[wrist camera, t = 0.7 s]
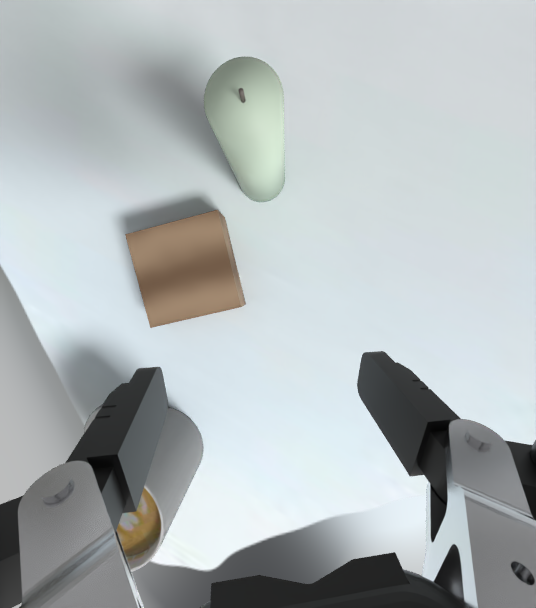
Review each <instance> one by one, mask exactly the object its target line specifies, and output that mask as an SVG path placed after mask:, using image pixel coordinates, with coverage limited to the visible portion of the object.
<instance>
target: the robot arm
mask: <svg viewBox="0 0 536 608" xmlns="http://www.w3.org/2000/svg"><path fill="white" fill-rule="evenodd" d="M357 387H358V393H359V396H360V398H361V400H362V401H363V403H364V404H365V406H366V407H367V409H368V411H369V412H370V414H371V415H372V417H373V419H374V420H375V422H376V423H377V425H378V426H379V428H380V430H381V431H382V433H383V434H384V436H385V437H386V439H387V441H388V442H389V444H390V445H391V447H392V449H393V450H394V452H395V453H396V455H397V456H398V458H399V460H400V461H401V463H402V464H403V466H404V467H405V469H406V471H407V472H408V474H409V475H410V476H418V475H425V477H426V478H427V479H428V484H427V489H426V501H427V502H426V554H425V560H424V565H423V571H422V576H421V575H419V574H416V573H413V572H410V571H407V570H403V569H402V567H401V565H400V562H399V560H398V558H397V556H396V554H395V553H389V554H382V555H377V556H371V557H365V558H359V559H353V560H351V561H350V562H348V563H346V564H345V565H343V566H341V567H340V568H338V569H336V570H335V571H333V572H331V573H330V574H328V575H326V576H325V577H323V578H321V579H320V580H318V581H316V582H315V583H313V584H302V583H297V582H292V581H287V580H282V579H277V578H272V577H266V576H261V575H257V576H252V577H246V578H240V579H234V580H228V581H222V582H216V583H212V584H211V585H212V586H211V601H210V602H208V603H206V604H205V605H203V606H201V607H200V608H536V440H535V442H534V444H533V445H527V444H521V443H516V442H510V441H504V440H503V439H502V438H501V437H500V436H499V435H498V434H497V433H495V432H494V431H493V430H491V429H490V428H488V427H486V426H484V425H482V424H480V423H477V422H474V421H471V420H466V419H460V418H459V417H458V416H457V415H456V414H455V413H454V412H453V411H452V410H451V409H450V408H449V407H448V406H447V405H446V404H445V403H444V402H443V401H442V400H441V399H440V398H439V397H438V396H437V395H436V394H435V393H434V392H433V391H432V390H431V389H428V387H427V386H426V385H425V384H424V383H423V382H422V381H420V379H419V378H418V377H417V376H416V375H415V374H414V373H413V372H412V371H411V370H410V369H408V368H406V367H404V366H403V365H401V364H399V363H395V362H394V361H393V360H392V359H391V358H390V357H389V356H388V355H387V354H386V353H385V352H383V351H379V352H365V353H363V355H362V358H361V364H360V370H359V376H358V383H357ZM167 409H168V399H167V394H166V389H165V384H164V379H163V374H162V370H161V368H160V367H152V368H139V369H137V370H136V372H135V374H134V375H133V377H132V379H131V381H130V382H129V383H124V384H121V385H120V386H119V387H117V388H116V389H115V390H114V391H113V392H112V393H110V394H109V396H108V397H107V399H106V400H105V402H104V403H103V405H102V408H101V409H100V410H99V411H98V413H97V414H96V416H95V419H94V420H93V421H92V422H91V424H90V425H89V427H88V429H87V430H86V432H85V433H84V435H83V437H82V438H81V439H80V441H79V443H78V444H77V446H76V447H75V449H74V450H73V452H72V454H71V455H70V457H69V459H68V460H67V461H66V463H65V464H62V465H59V466H57V467H55V468H53V469H52V470H50V471H48V472H47V473H45V474H44V475H43V476H41V477H40V478H39V479H38V480H36V481H35V482H34V483H33V484H32V485H31V486H30V488H29V489H28V490H27V491H26V493H25V494H24V495H23V496H21V497H19V498H16V499H13V500H11V501H8V502H6V503H3V504H1V505H0V608H12V607H14V606H16V605H18V604H20V603H22V605H21V607H19V608H144V606H143V603H142V601H141V598H140V595H139V592H138V589H137V587H136V584H135V581H134V578H133V575H132V572H131V569H130V567H129V564H128V561H127V558H126V555H125V552H124V549H123V547H122V544H121V541H120V538H119V535H118V532H117V527H118V525H119V522H120V519H121V516H122V513H129V512H136V511H137V508H138V505H139V502H140V499H141V495H142V492H143V489H144V486H145V483H146V479H147V476H148V473H149V470H150V467H151V463H152V460H153V457H154V454H155V451H156V448H157V444H158V441H159V438H160V435H161V432H162V428H163V425H164V422H165V419H166V415H167Z"/></svg>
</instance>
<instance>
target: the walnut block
mask: <svg viewBox="0 0 536 608" xmlns="http://www.w3.org/2000/svg"><path fill="white" fill-rule="evenodd" d="M125 235H126V239H127V243H128V246H129V250H130V254H131V257H132V261H133V265H134V268H135V272H136V276H137V280H138V283H139V287H140V291H141V294H142V298H143V302H144V306H145V309H146V313H147V317H148V320H149V324H150V328H152V327H156V326H160V325H165V324H169V323H173V322H178V321H182V320H186V319H191V318H195V317H199V316H204V315H208V314H212V313H217V312H221V311H226V310H230V309H234V308H239V307H242V306H244V305H245V304H246V303H245V299H244V295H243V291H242V287H241V283H240V279H239V274H238V270H237V266H236V262H235V258H234V254H233V250H232V245H231V241H230V237H229V233H228V229H227V225H226V221H225V217H224V216H223V215H222V214H221V213H220V212H219V211H218V210H215V211H211V212H207V213H204V214H200V215H196V216H192V217H189V218H185V219H181V220H177V221H174V222H170V223H166V224H163V225H159V226H155V227H151V228H148V229H144V230H140V231H137V232H133V233H129V234H125Z"/></svg>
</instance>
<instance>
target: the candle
mask: <svg viewBox="0 0 536 608" xmlns="http://www.w3.org/2000/svg"><path fill="white" fill-rule="evenodd" d="M204 109H205V113H206V117H207V119H208V121H209V123H210V125H211V127H212V129H213V132H214V134H215V136H216V138H217V140H218V142H219V144H220V146H221V148H222V150H223V152H224V154H225V156H226V158H227V160H228V162H229V164H230V166H231V169H232V171H233V173H234V175H235V177H236V179H237V181H238V183H239V185H240V187H241V189H242V191H243V193H244V194H245V195H246V196H247V197H248V198H250V199H251V200H253V201H257V202H266V201H270V200H272V199H274V198H275V197H276V196H277V195H278V194H279V193H280V192H281V190H282V188H283V186H284V182H285V155H284V96H283V88H282V84H281V82H280V79H279V77H278V75H277V74H276V72H275V71H274V70H273V69H272V68H271V67H270V66H269V65H268V64H267V63H265V62H263V61H261V60H260V59H257V58H253V57H238V58H234V59H231V60H229V61H227V62H225V63H224V64H222V65H221V66H220V67H219V68H218V69H217V70H216V71H215V72H214V73H213V74H212V76H211V77H210V79H209V81H208V83H207V86H206V89H205V94H204Z"/></svg>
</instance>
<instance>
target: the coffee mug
mask: <svg viewBox="0 0 536 608" xmlns="http://www.w3.org/2000/svg"><path fill="white" fill-rule="evenodd" d="M101 408H102V405H101V406H100V407H98V408H97V409H96V410H95V411H94V412H93V413H92V414H91V415H90V416H89V418H88V420H87V421H86V424H85V427H84V433H85V432H86V430H87V429H88V427H89V425H90V424H91V422H92V421H93V420H94V419H95V416H96V414H97V413H98V411H99V410H100V409H101ZM202 456H203V441H202V437H201V434H200V432H199V430H198V428H197V426H196V425H195V424H194V423H193V421H192V420H191V419H190V418H189V417H188V416H186V415H185V414H183V413H182V412H180V411H178V410H175V409H172V408H168V409H167V415H166V419H165V422H164V425H163V428H162V432H161V435H160V438H159V441H158V444H157V448H156V451H155V454H154V457H153V460H152V463H151V467H150V470H149V473H148V476H147V479H146V483H145V486H144V489H143V492H142V495H141V499H140V502H139V505H138V508H137V511H136V512H129V513H122V516H121V519H120V522H119V525H118V527H117V532H118V535H119V538H120V541H121V544H122V547H123V549H124V552H125V555H126V558H127V561H128V564H129V567H130V569H131V572H132V571H135V570H137V569H139V568H141V567H142V566H144V565H145V564H147V563H148V562H149V561H150V560H151V559H152V558H153V557H154V556H155V554H156V553H157V551H158V549H159V548H160V546H161V544H162V542H163V540H164V538H165V536H166V534H167V532H168V530H169V527H170V525H171V523H172V521H173V519H174V517H175V515H176V513H177V511H178V509H179V506H180V504H181V502H182V500H183V498H184V496H185V494H186V492H187V490H188V488H189V486H190V483H191V481H192V479H193V477H194V475H195V473H196V471H197V469H198V467H199V465H200V462H201V460H202Z"/></svg>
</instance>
